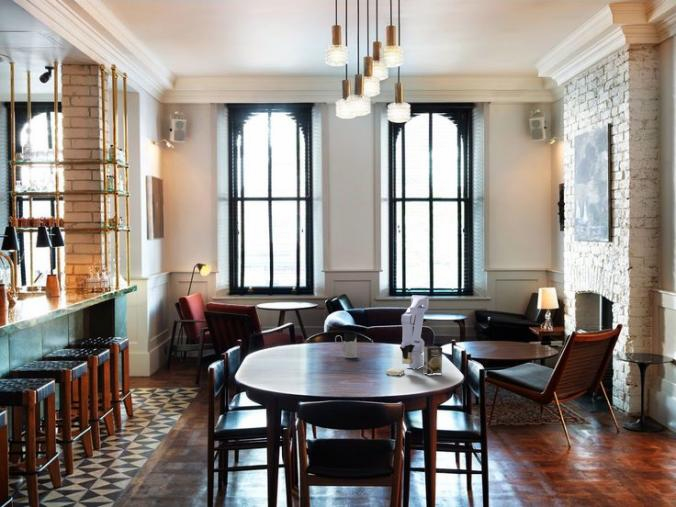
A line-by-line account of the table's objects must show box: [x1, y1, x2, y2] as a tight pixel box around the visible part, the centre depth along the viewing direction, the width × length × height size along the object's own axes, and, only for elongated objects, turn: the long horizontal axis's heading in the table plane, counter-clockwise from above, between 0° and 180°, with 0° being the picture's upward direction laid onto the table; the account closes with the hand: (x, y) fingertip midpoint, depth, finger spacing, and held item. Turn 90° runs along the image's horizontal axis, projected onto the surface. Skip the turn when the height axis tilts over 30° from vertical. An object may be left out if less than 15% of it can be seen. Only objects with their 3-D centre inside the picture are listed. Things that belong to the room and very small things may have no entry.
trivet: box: [385, 367, 405, 376], centre depth 385 cm, size 8×8×3 cm
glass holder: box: [334, 332, 358, 359], centre depth 434 cm, size 9×14×15 cm, turn 89°
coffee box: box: [422, 345, 443, 374], centre depth 384 cm, size 9×6×16 cm
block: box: [401, 352, 413, 365], centre depth 387 cm, size 4×4×6 cm
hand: (407, 358), depth 387 cm, fingers closed on block, 4 cm apart
